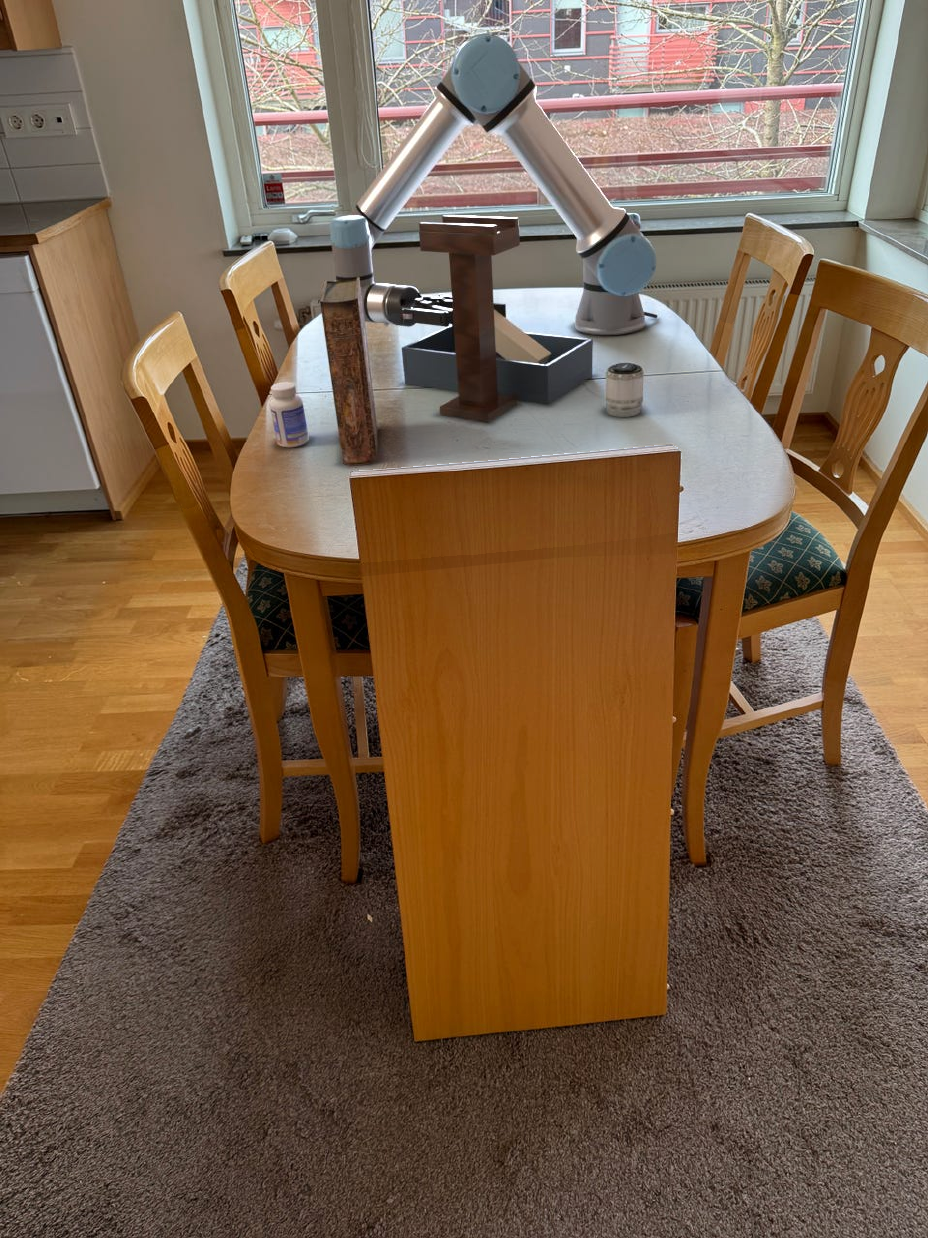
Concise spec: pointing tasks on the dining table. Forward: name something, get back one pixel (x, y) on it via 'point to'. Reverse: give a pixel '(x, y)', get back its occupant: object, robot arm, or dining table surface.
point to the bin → (503, 366)
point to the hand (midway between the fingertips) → (496, 315)
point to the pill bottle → (288, 415)
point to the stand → (473, 307)
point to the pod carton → (517, 343)
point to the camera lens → (624, 389)
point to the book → (350, 370)
